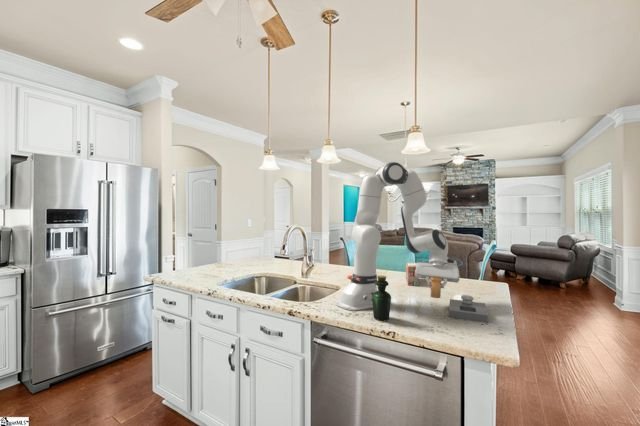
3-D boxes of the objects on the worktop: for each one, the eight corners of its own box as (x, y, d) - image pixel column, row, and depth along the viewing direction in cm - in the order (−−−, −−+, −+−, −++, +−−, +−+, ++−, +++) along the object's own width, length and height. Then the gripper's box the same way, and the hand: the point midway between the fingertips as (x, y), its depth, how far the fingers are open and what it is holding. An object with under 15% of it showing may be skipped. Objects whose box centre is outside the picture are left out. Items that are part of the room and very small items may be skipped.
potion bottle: (386, 314, 135) (387, 274, 135) (393, 321, 127) (394, 278, 127) (369, 315, 134) (369, 274, 134) (375, 322, 126) (375, 278, 126)
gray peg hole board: (488, 322, 127) (488, 308, 127) (448, 316, 133) (449, 303, 133) (484, 309, 143) (484, 297, 143) (449, 305, 149) (450, 293, 149)
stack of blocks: (405, 278, 207) (405, 260, 207) (415, 278, 206) (415, 260, 206) (407, 285, 186) (408, 265, 186) (418, 286, 185) (418, 266, 185)
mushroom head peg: (437, 299, 141) (438, 279, 141) (427, 296, 145) (428, 277, 145) (443, 297, 144) (444, 278, 144) (433, 294, 148) (434, 276, 148)
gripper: (415, 257, 155) (412, 280, 146) (460, 261, 147) (459, 286, 138) (416, 264, 159) (413, 287, 150) (459, 269, 151) (458, 293, 142)
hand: (435, 286), depth 144 cm, fingers closed on mushroom head peg, 4 cm apart
